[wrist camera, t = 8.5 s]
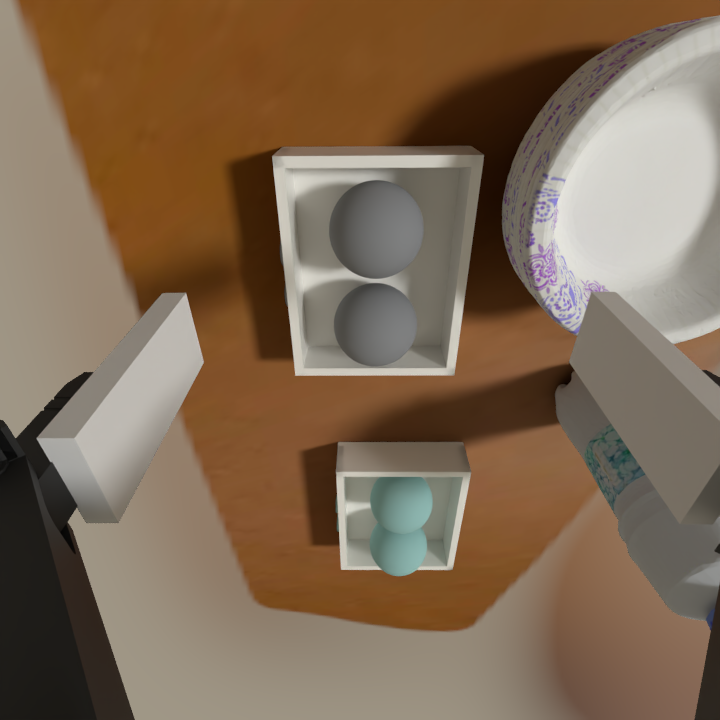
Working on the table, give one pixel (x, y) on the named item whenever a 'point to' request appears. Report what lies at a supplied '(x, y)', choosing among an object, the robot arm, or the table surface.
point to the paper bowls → (626, 184)
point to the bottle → (643, 511)
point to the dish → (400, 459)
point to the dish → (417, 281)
